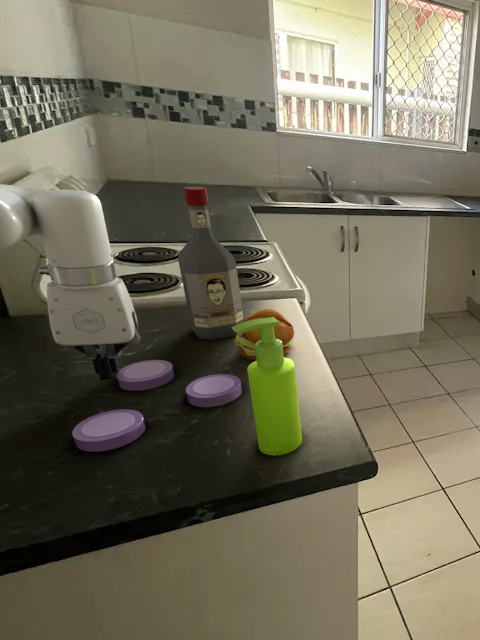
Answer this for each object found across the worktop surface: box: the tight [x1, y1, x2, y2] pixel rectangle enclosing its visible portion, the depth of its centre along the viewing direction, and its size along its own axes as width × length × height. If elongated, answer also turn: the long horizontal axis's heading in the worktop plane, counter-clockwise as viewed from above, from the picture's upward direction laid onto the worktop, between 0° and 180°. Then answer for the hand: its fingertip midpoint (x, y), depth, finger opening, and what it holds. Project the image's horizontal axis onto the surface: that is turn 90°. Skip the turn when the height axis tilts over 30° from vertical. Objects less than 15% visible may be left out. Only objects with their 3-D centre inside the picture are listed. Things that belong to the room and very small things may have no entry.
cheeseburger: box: [234, 308, 295, 361], centre depth 94 cm, size 10×11×10 cm
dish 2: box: [115, 359, 175, 392], centre depth 83 cm, size 8×8×2 cm
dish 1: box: [71, 408, 146, 453], centre depth 69 cm, size 8×8×2 cm
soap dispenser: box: [231, 317, 303, 456], centre depth 66 cm, size 6×7×20 cm
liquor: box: [177, 186, 245, 341], centre depth 97 cm, size 9×9×30 cm
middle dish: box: [185, 373, 243, 408], centre depth 80 cm, size 8×8×2 cm
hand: (109, 376), depth 81 cm, fingers closed
